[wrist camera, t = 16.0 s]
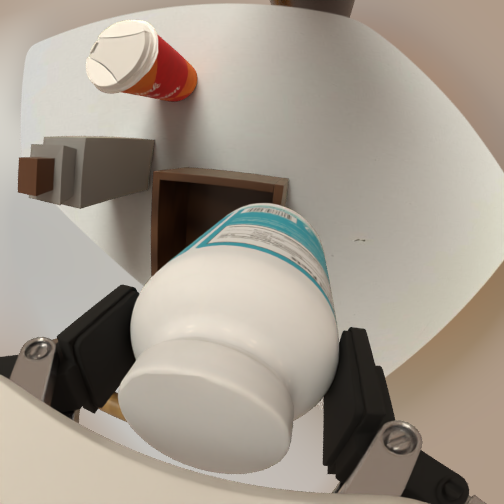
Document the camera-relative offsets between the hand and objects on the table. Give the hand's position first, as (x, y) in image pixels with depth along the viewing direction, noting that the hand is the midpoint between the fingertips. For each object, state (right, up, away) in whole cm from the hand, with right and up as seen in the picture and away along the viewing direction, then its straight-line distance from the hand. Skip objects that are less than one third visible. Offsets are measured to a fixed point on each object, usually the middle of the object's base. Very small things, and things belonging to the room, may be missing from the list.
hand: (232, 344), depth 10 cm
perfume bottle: (-16, +16, +25) cm, 34 cm away
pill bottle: (+2, +3, +9) cm, 10 cm away
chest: (-2, +6, +26) cm, 27 cm away
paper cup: (-9, +25, +21) cm, 34 cm away
